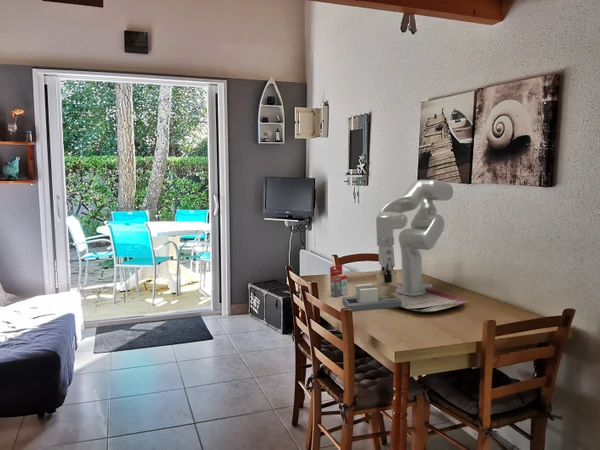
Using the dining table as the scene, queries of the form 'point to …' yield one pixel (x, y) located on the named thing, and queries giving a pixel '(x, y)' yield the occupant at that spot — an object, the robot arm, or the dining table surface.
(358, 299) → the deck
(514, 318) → the dining table surface
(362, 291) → the pale grey u-shaped piece
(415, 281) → the robot arm
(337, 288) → the ink box
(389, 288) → the block
